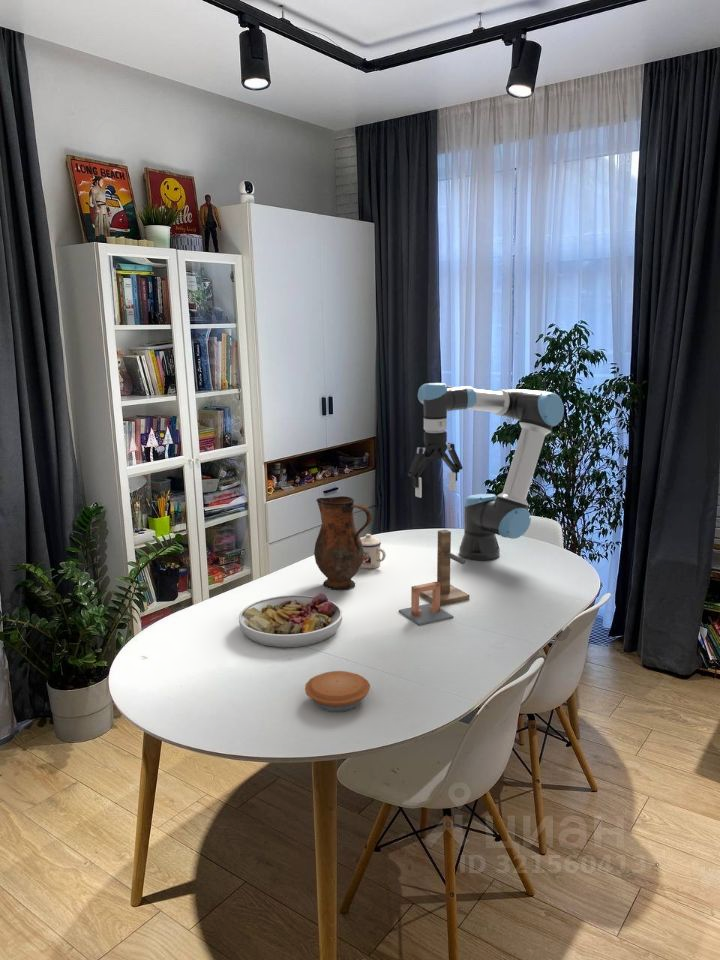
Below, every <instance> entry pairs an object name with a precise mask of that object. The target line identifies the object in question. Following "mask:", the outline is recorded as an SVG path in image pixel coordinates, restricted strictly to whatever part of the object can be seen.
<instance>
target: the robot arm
mask: <svg viewBox="0 0 720 960" xmlns="http://www.w3.org/2000/svg"><path fill="white" fill-rule="evenodd" d="M417 399H418V402H420V404H422V405H423V430H424V432H423V443H424V447H418V446H417V447H416V448H415V455H414V457H413V459H412V462H411V464H410V466H409V470H408V472H407V476H408V477H412V480H413V481H412V485H413V488H415V489H414V491H415V492H414V493H415V497H417V498H422V494H423V493H422V492H423V491H422V490H423V488H422V481H423V480H422V477H421V475H422V474H423V472H424V471H425V470H426V468H427V466H428V465H429V463H430V462H431V461H434V460H437V459H438V460H441V459H442V460H443V462H444V463H445V464H446V466H447V467H448V468H449V469H450V471H448V480H449V481H448V483H449V485H448V487H449V489H448V490H449V491H450V492H453V493H454V492H457V489H456V487H457V486H456V484H457V482H458V474H459V473H460V470H463V465H462V463H461V460H460V458H459V456H458V454H457V452H456V447H455V443H453V442H452V443H451V442H448V443H447V441H448V438H447V437H448V433H447V431H446V430H447V429H448V424H447V423H448V421H447V419H448V412H452V411H453V412H454V411H460V410H468V411H469V410H470V411H480V412H490V413H493V414H494V415H496V416H502V417H505V418H510V419H513V420H517V421H519V424H518V425H519V426H520V428H521V430H520V431H521V432H520V434H519V437H518V440H517V444H516V447H515V450H514V454H513V456H512V460H511V464H510V467H509V470H508V474H507V477H506V479H505V484H504V486H503V490H502V492H501V493H499V494H497V495H496V494H495V493H479V494H478V493H477V494H471V495H468V496H467V497H466V498H465V500H464V501H465V502H464V522H463V523H464V525H463V526H464V532H463V533H464V535H463V537H462V540H461V542H460V543H461V544H460V545H459V556H461V558H463V559H464V558H465V559H468V560H473V561H489V560H494V559H495V560H496V559H497V558H498V557H500V553H501V550H500V546H499V543H498V539H497V537H496V536H500V537H502V538H505V539H506V538H507V539H511V540H513V539H514V540H515V539H519V538H521V537H522V536H524V534H526V533H527V531H528V530H529V527H530V525H531V522H532V518H531V513H530V512H529V510H528V508H529V503H528V500H527V496H528V494H529V491H530V486H531V484H532V481H533V477H534V473H535V472H536V471H535V470H536V467H537V465H538V464H537V463H538V460H539V457H540V455H541V452H542V448H543V445H544V444H543V443H544V441H545V438H546V436H547V435H548V434H551V433H552V430H553V427H556V426H558V425H559V424H560V423H561V422H562V420H563V418H564V413H565V406H564V403H563V400H562V398H561V397H560V396H559V395H558V394H557V393H554V392H551V391H547V390H532V389H523V388H522V389H521V388H520V389H519V388H518V389H502V388H500V389H497V390H495V391H494V390H487V389H480V388H479V389H477V388H474V387H472V386H471V385H469V386H468V385H467V386H466V385H462V386H454V385H447V384H446V383H445V382H444V383H443V382H429V383H423V384H422V385H421V386H420V387H419V388H418V392H417ZM446 451H448V454H449V455H448V454H447V453H446ZM449 457H450V458H449Z"/></svg>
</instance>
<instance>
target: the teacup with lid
mask: <svg viewBox="0 0 720 960" xmlns="http://www.w3.org/2000/svg"><path fill="white" fill-rule="evenodd" d="M360 539H361V541H362V545H363V549H364V556H363V562H362V564H361V566H360V568H361V569H376V568H378V567H380V566H381V562H383V561H384V560H385V559H386V557H387V556H386V555H387V554H386V552H385V550H384V549H383V548H381V544H382V542H381V540H380V538H377V537H374V536H372V533H371V534H370V533H366V534H365V536H363V537H360ZM381 554H382V557H381ZM360 568H359V569H360Z"/></svg>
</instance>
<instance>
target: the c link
mask: <svg viewBox="0 0 720 960" xmlns="http://www.w3.org/2000/svg"><path fill="white" fill-rule="evenodd" d="M429 590H433V593H432V602H431V603H432V606H430V611H431V612H433V613H435V612H439V611H440V608H441V606H440V583H439V582H437V581H432V582H428V583H422V584H418V585H413V586H411V591H410V592H411V595H410V596H411V599H410V601H411V603H410V604H411V605H410V606H411V615H413V616H414V617H416V616H421V615H422V610H420V609H419V605H420V595H419V592H424V591H429Z"/></svg>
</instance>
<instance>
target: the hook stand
mask: <svg viewBox="0 0 720 960" xmlns="http://www.w3.org/2000/svg"><path fill="white" fill-rule="evenodd" d="M451 539H452V531H450V530H448V529H440V530H437V550H436V551H437V554H436V555H437V557H436V558H437V562H436V564H437V565H436V566H437V567H436V572H437V573H436V582H439V583H440V607H441V606H445V605H448V604H449V605H450V604H454V603H458V602H463V601H468V600H470V594H468V593H467V592H465V591H463V590H461V589H460V588H458V587H456V586H454V585H452V584H451V560H453V561H455V562H457V563H459V564H461V565H464V564H465V563H466V559H464V558H463V557H460V556H458V555H456V554H454V553H452V552H451V550H452V549H451V546H452V544H451V541H452V540H451ZM432 593H433V590H429V591H424V592H419V597H422V598H423V599H425V600H427V601H429V602H430V603H432Z"/></svg>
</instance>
